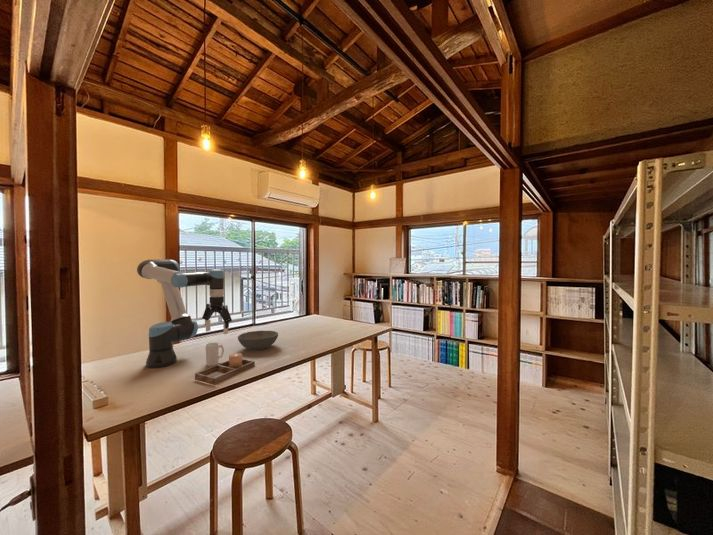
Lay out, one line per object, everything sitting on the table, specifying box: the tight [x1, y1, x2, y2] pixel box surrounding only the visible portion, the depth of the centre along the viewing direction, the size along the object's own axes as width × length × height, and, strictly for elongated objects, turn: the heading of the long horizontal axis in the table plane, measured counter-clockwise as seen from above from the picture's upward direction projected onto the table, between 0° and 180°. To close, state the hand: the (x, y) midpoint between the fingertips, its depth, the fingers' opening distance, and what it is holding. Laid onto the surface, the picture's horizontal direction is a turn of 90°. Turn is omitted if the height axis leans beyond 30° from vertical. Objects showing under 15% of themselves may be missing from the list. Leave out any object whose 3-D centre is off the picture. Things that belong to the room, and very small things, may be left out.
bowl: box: [237, 330, 279, 351], centre depth 201 cm, size 26×26×10 cm
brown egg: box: [228, 352, 243, 369], centre depth 165 cm, size 7×7×7 cm
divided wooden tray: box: [194, 358, 256, 386], centre depth 159 cm, size 15×26×3 cm, turn 155°
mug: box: [205, 342, 225, 367], centre depth 172 cm, size 10×7×12 cm, turn 135°
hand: (216, 332), depth 171 cm, fingers open, 13 cm apart
